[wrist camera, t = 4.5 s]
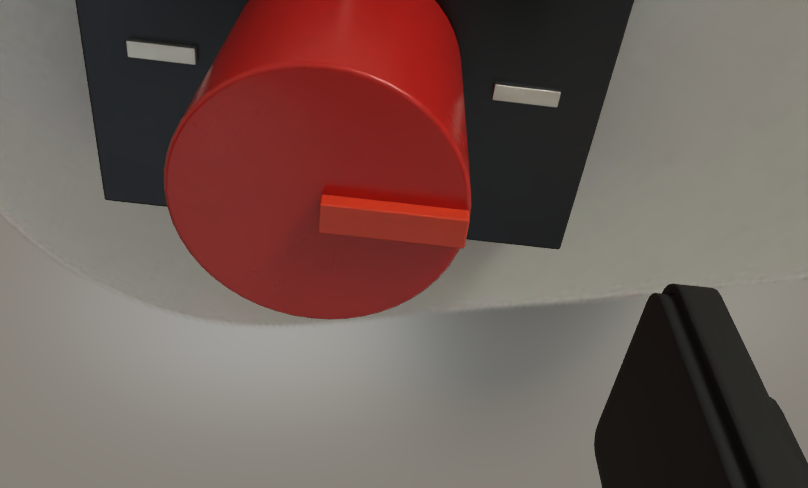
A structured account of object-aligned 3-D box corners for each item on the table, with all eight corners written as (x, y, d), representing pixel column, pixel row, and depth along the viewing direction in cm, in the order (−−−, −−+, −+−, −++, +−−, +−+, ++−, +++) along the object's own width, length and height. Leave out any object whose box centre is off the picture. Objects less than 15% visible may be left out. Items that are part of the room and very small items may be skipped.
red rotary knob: (233, 158, 17) (168, 317, 13) (227, -61, 14) (142, 52, 10) (443, 182, 17) (447, 346, 13) (479, -29, 15) (499, 94, 10)
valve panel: (138, 164, 20) (104, 221, 18) (94, -227, 15) (38, -211, 13) (543, 209, 21) (556, 270, 19) (642, -154, 15) (676, -127, 13)
